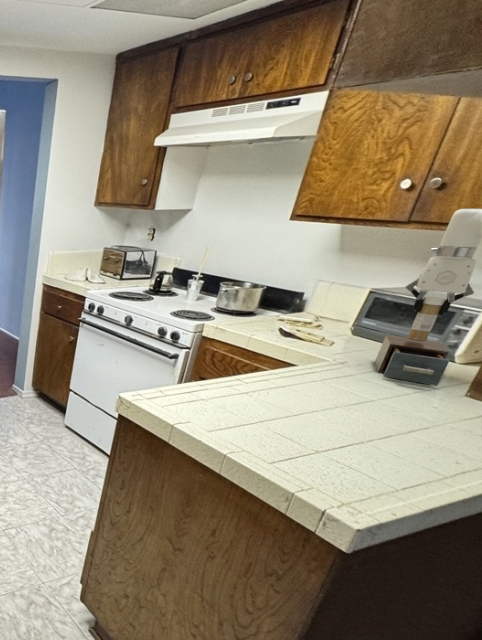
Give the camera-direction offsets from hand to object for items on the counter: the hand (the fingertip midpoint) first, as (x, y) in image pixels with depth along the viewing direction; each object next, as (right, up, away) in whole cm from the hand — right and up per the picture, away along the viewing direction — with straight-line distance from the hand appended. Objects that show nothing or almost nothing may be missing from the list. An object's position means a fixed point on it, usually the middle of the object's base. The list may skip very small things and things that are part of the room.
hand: (428, 312), depth 146 cm
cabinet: (-2, -18, +6) cm, 19 cm away
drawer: (-9, -20, -2) cm, 22 cm away
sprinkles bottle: (0, -8, +3) cm, 9 cm away
